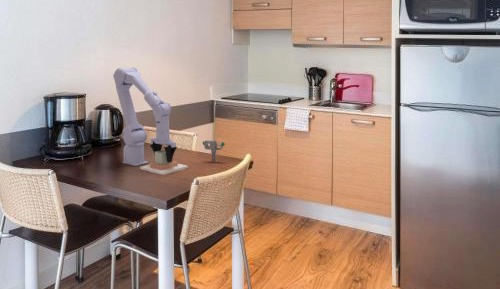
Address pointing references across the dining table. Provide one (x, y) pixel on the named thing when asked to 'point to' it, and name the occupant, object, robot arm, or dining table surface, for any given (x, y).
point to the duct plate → (164, 168)
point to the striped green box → (161, 157)
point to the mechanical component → (213, 147)
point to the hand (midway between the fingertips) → (163, 160)
